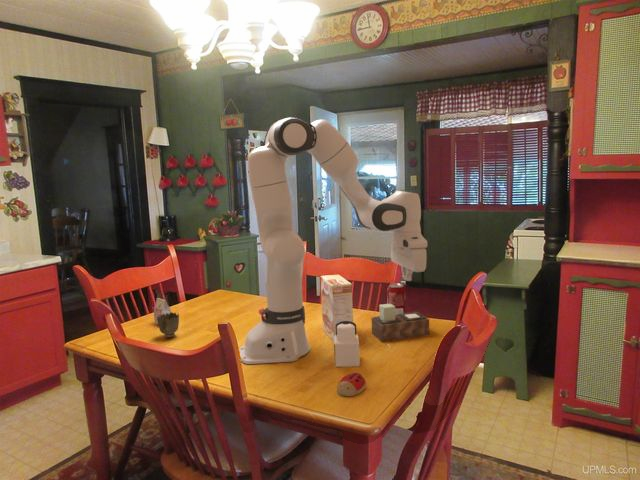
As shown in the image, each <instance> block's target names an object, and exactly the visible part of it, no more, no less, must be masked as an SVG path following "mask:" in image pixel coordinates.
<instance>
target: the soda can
mask: <svg viewBox="0 0 640 480" xmlns="http://www.w3.org/2000/svg"><path fill="white" fill-rule="evenodd" d="M404 286H405V285H404V284H403V283H396V282H395V283H390V284H388V288H387V290H386V291H387V293H386V295H387V297H386V299H387V303H386V304H392V305H393V306H395V315H397V314H402V313H407V311H406V310H407V309H406V308H407V307H406V305H407V304H406V288H405V287H404Z"/></svg>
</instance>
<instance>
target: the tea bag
mask: <svg viewBox="0 0 640 480" xmlns="http://www.w3.org/2000/svg"><path fill="white" fill-rule="evenodd" d="M171 312H172V309H171V308H170V306H169V304H168V303H167V300H166V299H162V298H160V297H156V299H155V303H154V307H153V317H154V318H153V319H154V324H155V323H156V324H158V321H157V317H158V316H159V317H160V315H162V314H165V315H166V313H168V315H169V314H170V313H171ZM156 324H155V325H156Z"/></svg>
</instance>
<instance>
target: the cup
mask: <svg viewBox="0 0 640 480" xmlns="http://www.w3.org/2000/svg"><path fill="white" fill-rule="evenodd" d="M179 320H180V315H179V313H176V312H172V311H171V313H170V314H169V315H168V313H166V315H165V314H162V315H160V317H159V316H158V317H157V321H158V325H157V326H158V330H159V331H160V333H162V334H163V335H164V336H163V337H164V338H165V339H172V338H171V337H173V338H174V337H176V332H177V331H178V329H179V326H180V325H179V323H180V321H179Z"/></svg>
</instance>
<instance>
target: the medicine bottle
mask: <svg viewBox="0 0 640 480" xmlns="http://www.w3.org/2000/svg"><path fill="white" fill-rule="evenodd" d="M333 346H334V347H333V349H334V367H335V368H345V367H346V368H347V367H348V368H349V367H351V368H352V367H360V364H361V361H360V341H359V335H358V334H357V324H356V323H355V322H354V321H353V322H351V321H341V322H339V323H337V324H336V335H335V336H334V342H333Z"/></svg>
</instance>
